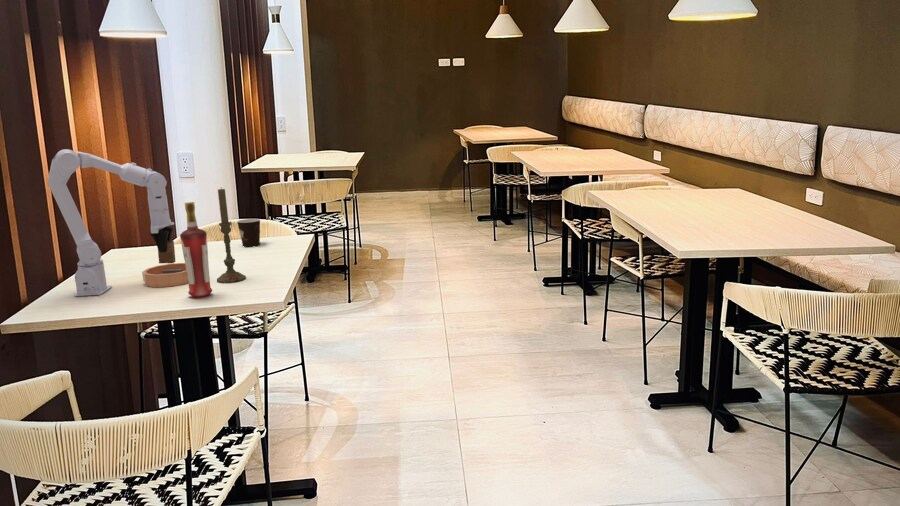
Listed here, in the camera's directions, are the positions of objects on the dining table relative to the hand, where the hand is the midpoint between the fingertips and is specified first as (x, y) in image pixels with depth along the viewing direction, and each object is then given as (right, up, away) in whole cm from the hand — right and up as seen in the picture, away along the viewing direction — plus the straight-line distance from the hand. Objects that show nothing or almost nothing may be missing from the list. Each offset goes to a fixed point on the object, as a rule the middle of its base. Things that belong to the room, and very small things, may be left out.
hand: (164, 251), depth 235 cm
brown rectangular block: (+1, -4, +1) cm, 4 cm away
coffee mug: (+14, +2, +50) cm, 52 cm away
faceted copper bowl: (+2, -10, +1) cm, 10 cm away
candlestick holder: (+22, -9, -1) cm, 24 cm away
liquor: (+18, -14, -19) cm, 30 cm away
